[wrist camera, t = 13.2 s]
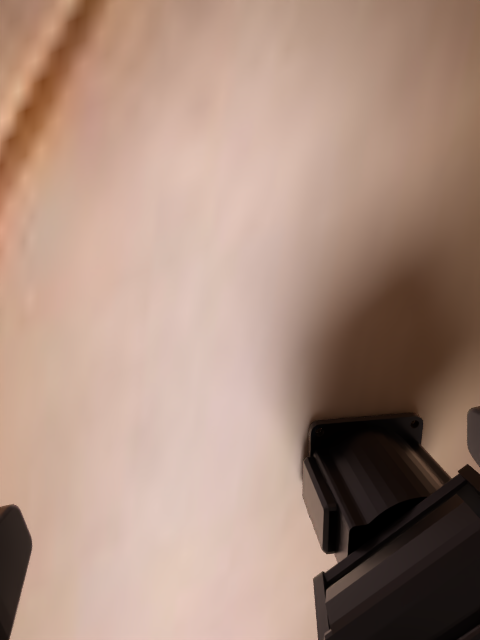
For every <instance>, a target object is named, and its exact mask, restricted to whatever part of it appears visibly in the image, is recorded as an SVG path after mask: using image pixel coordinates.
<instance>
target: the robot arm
mask: <svg viewBox="0 0 480 640" xmlns="http://www.w3.org/2000/svg"><path fill="white" fill-rule="evenodd" d="M414 420H415V422H414V423H413V424H411V422H412V421H414ZM410 424H411V425H410ZM319 428H322V430H321V431H320V432H316V430H317V429H319ZM422 430H423V420H422V418H421V417H420V416H419V415H417V414H416V413H403V414H391V415H379V416H367V417H355V418H343V419H330V420H318V421H314V422H313V423H312V424H311V425H310V427H309V453H308V457H306V458H305V459H304V461H303V494H302V495H303V499H304V502H305V505H306V507H307V511H308V514H309V517H310V518H311V521H312V524H313V527H314V530H315V532H316V535H317V538H318V541H319V543H320V546H321V549H322V550H323V551H324V552H325V553H326V554H333V553H334V554H335V557H336V559H337V562H338V564H336V565H335V566H333V567H332V568H331V569H329V570H328V571H327V572H321V573H320V574H318V575H317V576H316V577H314V578H313V582H314V595H315V607H316V619H317V631H318V640H480V474H479V473H478V472H476V471H475V470H474V469H473V468H472V467H471V466H469V465H468V464H467V465H466V466H464V467H463V468H462V469H460V470H459V471H458V472H459V474H458V475H456V476H455V477H454V478H451V477H450V476H449V475H448V474H447V473H446V472H445V471H444V469H443V468H442V467H441V466H440V465H439V464H438V463H437V462H436V461H435V460H434V459H433V458H432V457H431V455H430V454H429V453H428V452H427V451H426V450H425V449H424V448H423V447H422V446H421V439H422ZM467 445H468V449H469V452H470V454H471V456H472V457H473V459H474V460H475V461H476V463H477V464H478V466H479V467H480V406H479V407H474V408H471V409H470V410H469V411H468V414H467ZM31 551H32V539H31V535H30V533H29V530H28V528H27V525H26V523H25V520H24V518H23V515H22V513H21V511H20V509H19V507H18V506H16V505H14V504H11V505H6V506H2V507H0V640H9V639H10V635H11V631H12V628H13V624H14V620H15V616H16V612H17V608H18V604H19V600H20V596H21V592H22V588H23V584H24V580H25V576H26V572H27V568H28V564H29V560H30V556H31Z"/></svg>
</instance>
